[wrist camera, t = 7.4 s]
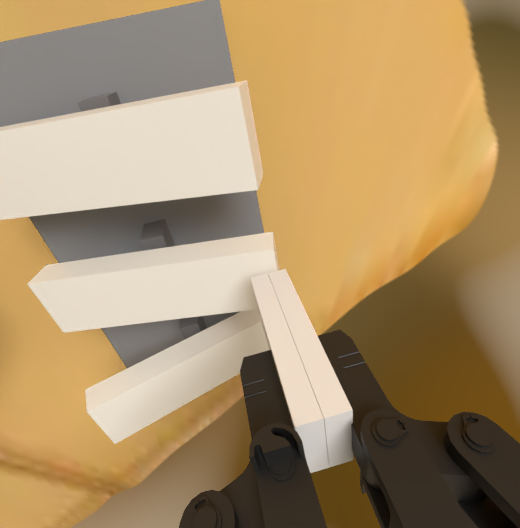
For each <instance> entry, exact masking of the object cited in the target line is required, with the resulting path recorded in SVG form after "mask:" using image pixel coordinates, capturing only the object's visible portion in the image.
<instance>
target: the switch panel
mask: <svg viewBox="0 0 520 528" xmlns="http://www.w3.org/2000/svg"><path fill="white" fill-rule="evenodd" d="M230 83H235V79H234V73H233V68H232V63H231V58H230V52H229V47H228V42H227V37H226V32H225V26H224V21H223V16H222V11H221V5H220V0H205V1H200V2H195V3H190V4H185V5H180V6H175V7H171V8H166V9H161V10H156V11H151V12H146V13H141V14H136V15H131V16H126V17H122V18H117V19H112V20H107V21H102V22H97V23H92V24H87V25H82V26H77V27H73V28H68V29H63V30H58V31H53V32H48V33H43V34H38V35H33V36H28V37H24V38H19V39H14V40H9V41H4V42H0V127H3V126H8V125H14V124H19V123H24V122H29V121H35V120H40V119H45V118H51V117H56V116H61V115H66V114H72V113H77V112H82V111H87V110H93V109H98V108H103V107H109V106H114V105H119V104H124V103H130V102H135V101H140V100H145V99H151V98H156V97H161V96H166V95H172V94H177V93H182V92H188V91H193V90H198V89H203V88H209V87H214V86H219V85H224V84H230ZM29 218H30V219H31V221H32V222H33V224H34V226H35V227H36V229H37V230H38V232H39V233H40V235H41V236H42V238H43V239H44V241H45V242H46V244H47V246H48V247H49V249H50V250H51V252H52V253H53V255H54V256H55V258H56V259H57V261H58V262H59V263H63V262H70V261H77V260H84V259H90V258H97V257H104V256H111V255H118V254H124V253H131V252H138V251H145V250H152V249H159V248H165V247H172V246H179V245H186V244H193V243H200V242H206V241H213V240H220V239H227V238H234V237H240V236H247V235H254V234H261V233H264V230H263V225H262V220H261V214H260V209H259V204H258V199H257V194H256V190H254V191H245V192H236V193H228V194H219V195H211V196H202V197H193V198H185V199H176V200H168V201H159V202H150V203H142V204H133V205H125V206H116V207H107V208H99V209H90V210H82V211H73V212H64V213H56V214H47V215H39V216H30V217H29ZM240 312H241V311H240ZM237 313H239V312H231V313H223V314H215V315H206V316H198V317H190V318H181V319H173V320H165V321H156V322H148V323H140V324H131V325H123V326H115V327H107V328H101V329H102V330H103V332H104V333H105V335H106V336H107V338H108V339H109V341H110V342H111V344H112V346H113V347H114V349H115V350H116V352H117V353H118V355H119V356H120V358H121V359H122V361H123V362H124V364H125V366H126V367H127V368H129V367H131V366H133V365H135V364H137V363H139V362H141V361H143V360H145V359H147V358H149V357H151V356H153V355H155V354H157V353H159V352H161V351H163V350H165V349H167V348H169V347H171V346H173V345H175V344H177V343H179V342H181V341H183V340H185V339H187V338H189V337H191V336H193V335H195V334H197V333H199V332H201V331H203V330H205V329H207V328H209V327H211V326H213V325H215V324H217V323H219V322H221V321H223V320H225V319H227V318H229V317H231V316H233V315H235V314H237Z"/></svg>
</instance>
